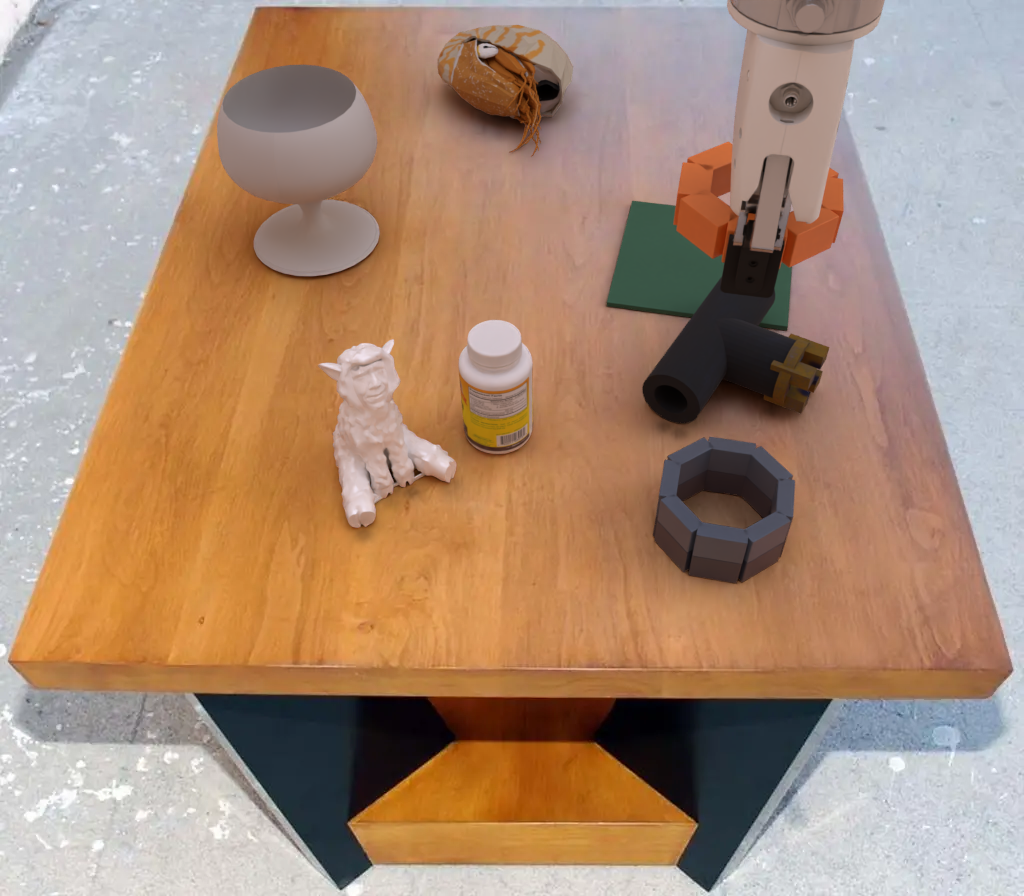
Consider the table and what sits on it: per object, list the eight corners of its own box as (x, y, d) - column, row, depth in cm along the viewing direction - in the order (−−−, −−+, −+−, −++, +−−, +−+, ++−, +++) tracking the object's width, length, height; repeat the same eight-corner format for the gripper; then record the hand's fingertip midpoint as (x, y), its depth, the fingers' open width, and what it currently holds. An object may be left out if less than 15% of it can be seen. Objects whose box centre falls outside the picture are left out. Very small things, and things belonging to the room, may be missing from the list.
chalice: (369, 292, 92) (347, 147, 81) (224, 279, 94) (182, 134, 83) (403, 203, 102) (388, 62, 90) (271, 193, 103) (239, 53, 92)
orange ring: (834, 182, 67) (842, 150, 65) (835, 276, 60) (844, 243, 58) (683, 166, 68) (687, 134, 66) (667, 256, 62) (672, 223, 60)
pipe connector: (855, 300, 82) (784, 419, 74) (841, 347, 86) (772, 465, 78) (724, 256, 86) (644, 364, 78) (717, 303, 90) (640, 410, 82)
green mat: (794, 223, 98) (795, 219, 98) (786, 330, 88) (788, 326, 88) (631, 204, 101) (632, 200, 101) (606, 306, 91) (606, 302, 90)
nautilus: (587, 168, 106) (445, 182, 106) (566, 57, 119) (440, 69, 119) (587, 102, 100) (436, 116, 100) (564, -7, 113) (432, 5, 113)
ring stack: (784, 491, 76) (796, 449, 73) (778, 591, 70) (791, 550, 67) (663, 472, 78) (669, 429, 74) (647, 568, 72) (653, 527, 68)
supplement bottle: (481, 399, 83) (476, 303, 75) (543, 418, 81) (544, 323, 74) (451, 445, 80) (443, 350, 72) (515, 466, 78) (513, 371, 70)
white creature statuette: (355, 537, 74) (330, 425, 65) (299, 465, 79) (269, 352, 70) (461, 477, 77) (452, 364, 69) (402, 413, 82) (386, 299, 73)
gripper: (895, 67, 44) (806, 373, 57) (881, -79, 54) (809, 210, 68) (720, 52, 45) (674, 356, 58) (740, -88, 55) (697, 198, 69)
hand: (747, 275), depth 63 cm, fingers closed on orange ring, 2 cm apart
